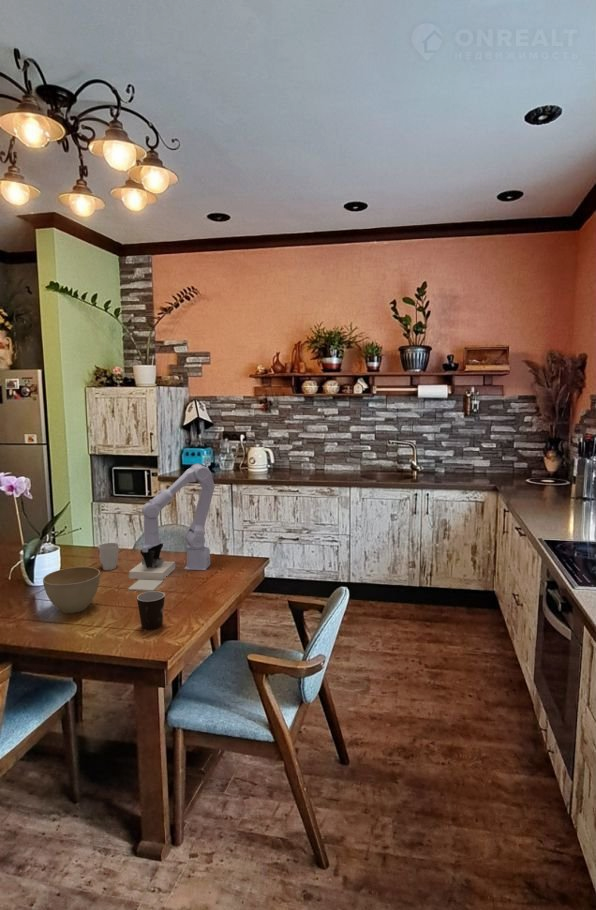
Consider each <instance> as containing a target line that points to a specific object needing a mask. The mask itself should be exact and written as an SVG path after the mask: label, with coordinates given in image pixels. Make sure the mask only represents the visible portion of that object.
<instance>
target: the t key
mask: <svg viewBox="0 0 596 910" xmlns="http://www.w3.org/2000/svg"><path fill="white" fill-rule="evenodd" d="M163 561H164V558H163V557H159V558H154V557H153V564H152V567H149V568H156V565H159V566H161V565H162V564H163ZM141 562H142V565H146V564H145V560H144V558H143V557H142V558H141Z"/></svg>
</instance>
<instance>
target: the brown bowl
mask: <svg viewBox="0 0 596 910" xmlns="http://www.w3.org/2000/svg"><path fill="white" fill-rule="evenodd" d="M100 577H101V571H100V570H99V569H97V568H95V567H92V566H91V567H90V566H75V567H68V568H62V569H58V570H55V571H51V572H50V573H47V574H46V575H45V576H44V577H43V578H42V583H43V588H44V590H45V593H46V596H47V597H48V599H49V601H50V602H51V604H52V605H53V606H55V608H57V610H58V611H59V612H62V613H64V614H68V613H70V614H76V612H77V613H80V612H82V611H84V610H86V609H87V608H88V607H89V605H90V604H91V603H92V601H93V599H94V598H95V596H96V594H97V591H98V588H99V584H100V579H101V578H100Z"/></svg>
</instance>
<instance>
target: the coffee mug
mask: <svg viewBox="0 0 596 910" xmlns="http://www.w3.org/2000/svg"><path fill="white" fill-rule="evenodd" d="M165 595H166V594H165V593H164V592H163V591H157V590H154V591H144V592H142V593H140V594H138V595H137V597H136V600H137V608H138V613H139V618H140V619H139V620H140V625H141V629H142V630H144V631H156V630H159V629H161V628H162V627H161V626H163V619H164V608H165V597H166V596H165ZM158 628H159V629H158ZM155 629H156V630H155Z"/></svg>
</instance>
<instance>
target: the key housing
mask: <svg viewBox="0 0 596 910" xmlns="http://www.w3.org/2000/svg"><path fill="white" fill-rule="evenodd" d="M175 569H176V562H175V561H164V560H163V564H162V565H161V566H159V565H156V568H149V567H146V565H142V561H141V562H140V563H138V564H137V565H136V566H135V567H133V568H132V569H130V570H129V571H128V574H129V575H128V578H129V579H132V580H160V581H164V580H165V579H166V578H167V577H168V576H169V575H170V574H171V573H173V572H174V570H175ZM166 576H167V577H166ZM164 578H165V579H164ZM163 579H164V580H163Z"/></svg>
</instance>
